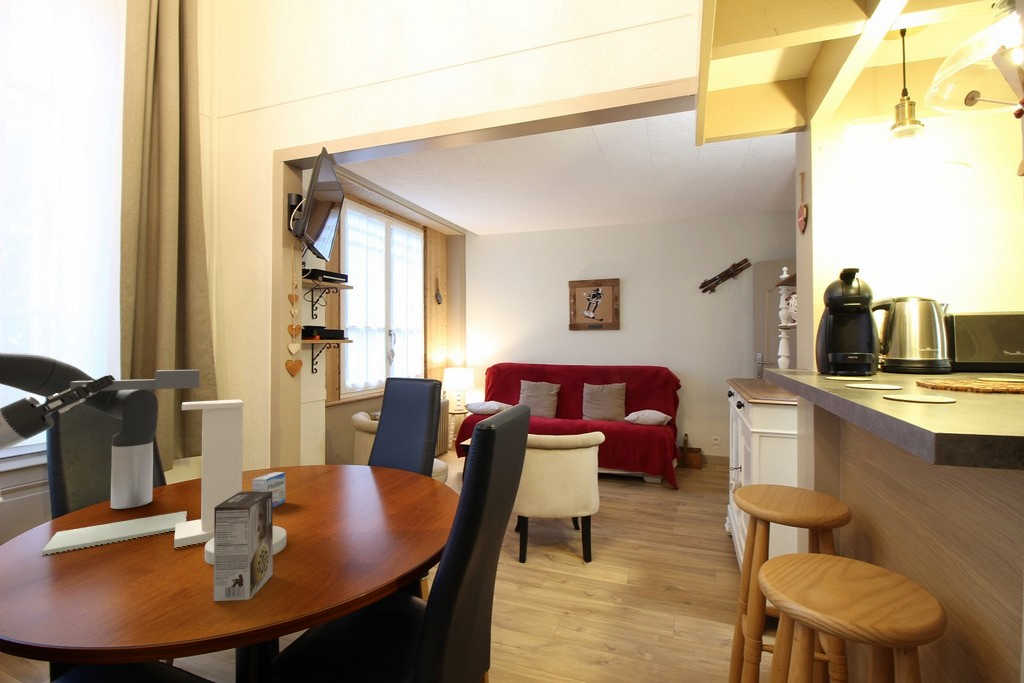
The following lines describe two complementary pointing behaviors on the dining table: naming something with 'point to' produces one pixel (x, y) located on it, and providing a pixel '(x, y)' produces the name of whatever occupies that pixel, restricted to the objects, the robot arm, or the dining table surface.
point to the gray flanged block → (154, 381)
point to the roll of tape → (278, 544)
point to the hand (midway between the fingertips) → (112, 378)
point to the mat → (113, 532)
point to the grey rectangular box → (243, 545)
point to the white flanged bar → (215, 465)
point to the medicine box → (272, 486)
